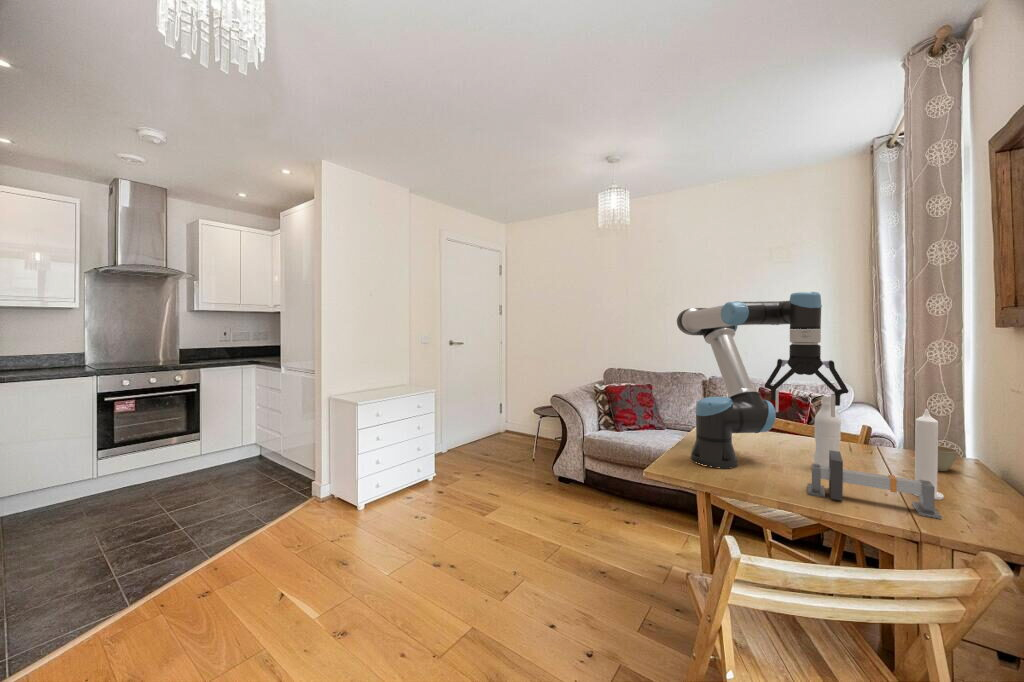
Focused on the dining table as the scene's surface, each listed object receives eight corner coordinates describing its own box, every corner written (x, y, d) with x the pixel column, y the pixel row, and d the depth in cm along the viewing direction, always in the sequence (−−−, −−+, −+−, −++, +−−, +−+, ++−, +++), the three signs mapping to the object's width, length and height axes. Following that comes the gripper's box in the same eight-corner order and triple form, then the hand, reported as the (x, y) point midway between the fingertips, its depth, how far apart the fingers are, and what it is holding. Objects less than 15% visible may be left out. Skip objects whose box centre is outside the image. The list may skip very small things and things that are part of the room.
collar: (830, 498, 111) (831, 459, 111) (828, 486, 120) (829, 450, 120) (842, 500, 110) (842, 461, 110) (839, 488, 119) (839, 451, 118)
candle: (906, 487, 120) (907, 405, 119) (940, 493, 115) (942, 408, 115) (910, 495, 114) (911, 409, 114) (946, 501, 110) (947, 412, 109)
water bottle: (841, 474, 131) (841, 399, 130) (813, 470, 135) (814, 397, 134) (840, 468, 136) (840, 396, 136) (813, 464, 141) (814, 394, 140)
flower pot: (937, 464, 140) (938, 444, 140) (967, 474, 130) (967, 452, 130) (906, 463, 141) (907, 443, 141) (933, 473, 131) (934, 452, 131)
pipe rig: (807, 494, 116) (807, 467, 116) (807, 485, 122) (807, 460, 122) (941, 519, 100) (941, 488, 99) (933, 507, 106) (933, 479, 106)
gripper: (755, 343, 123) (754, 411, 124) (861, 344, 109) (860, 421, 109) (756, 342, 129) (756, 407, 130) (857, 343, 115) (856, 416, 116)
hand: (804, 414), depth 120 cm, fingers open, 13 cm apart
